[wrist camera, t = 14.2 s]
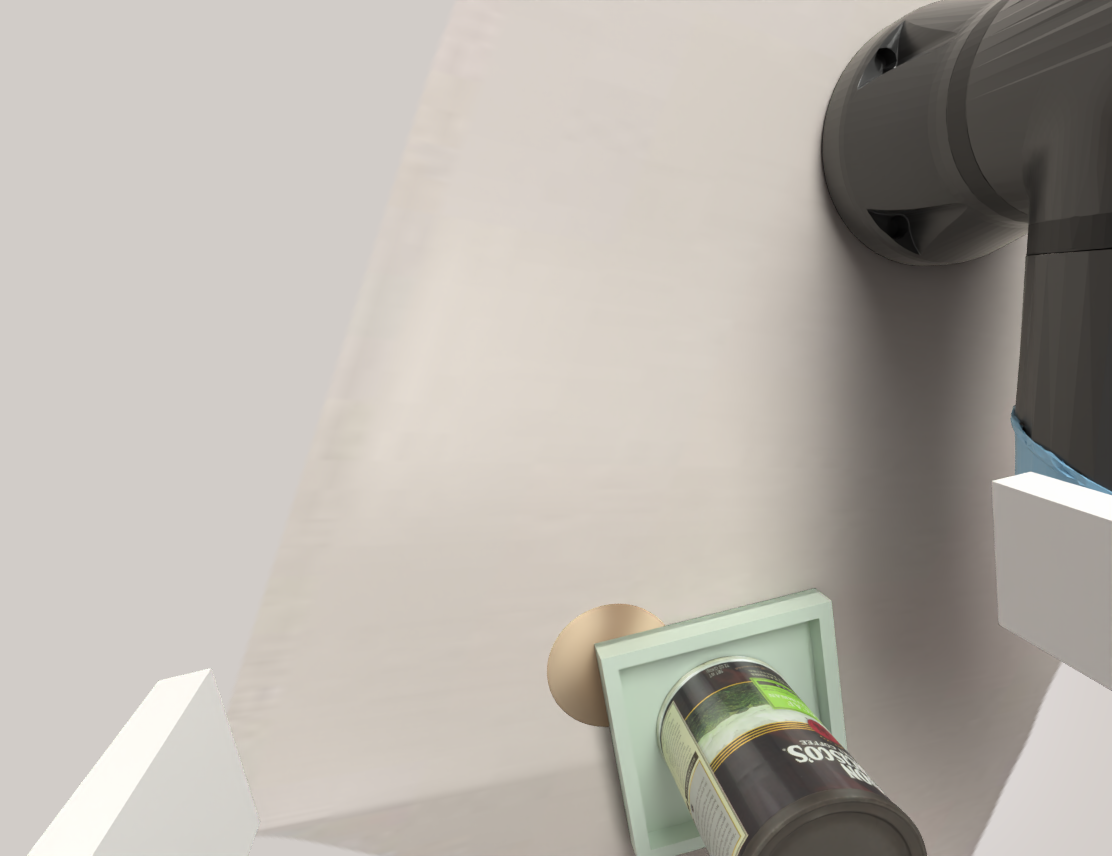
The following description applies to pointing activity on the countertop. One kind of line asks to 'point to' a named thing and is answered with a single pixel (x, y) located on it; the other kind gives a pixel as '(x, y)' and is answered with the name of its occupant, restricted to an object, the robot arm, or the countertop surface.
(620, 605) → the copper metal coaster
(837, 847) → the coffee can
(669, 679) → the tray
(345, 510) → the countertop surface
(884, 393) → the countertop surface
